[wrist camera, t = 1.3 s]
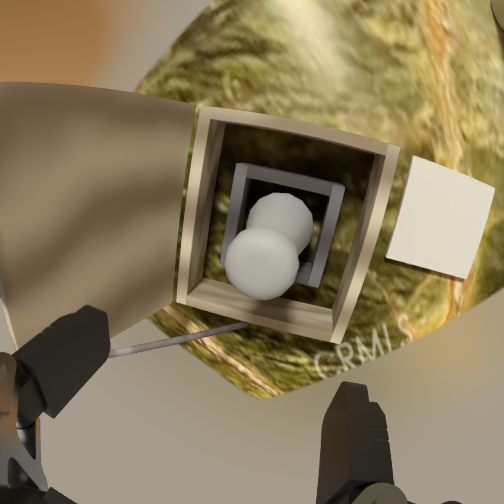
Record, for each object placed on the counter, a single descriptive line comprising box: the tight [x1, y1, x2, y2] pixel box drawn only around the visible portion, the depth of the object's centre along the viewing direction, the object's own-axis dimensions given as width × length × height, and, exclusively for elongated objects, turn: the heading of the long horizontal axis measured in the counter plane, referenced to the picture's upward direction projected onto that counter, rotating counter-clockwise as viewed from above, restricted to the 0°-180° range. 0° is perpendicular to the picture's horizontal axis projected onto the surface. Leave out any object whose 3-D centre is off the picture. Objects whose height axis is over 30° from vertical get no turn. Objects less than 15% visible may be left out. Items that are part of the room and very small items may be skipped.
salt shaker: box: [224, 193, 314, 300], centre depth 23 cm, size 6×6×13 cm
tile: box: [385, 155, 495, 279], centre depth 25 cm, size 10×10×1 cm
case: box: [108, 106, 400, 358], centre depth 23 cm, size 19×18×14 cm
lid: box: [0, 82, 196, 351], centre depth 18 cm, size 18×17×1 cm
